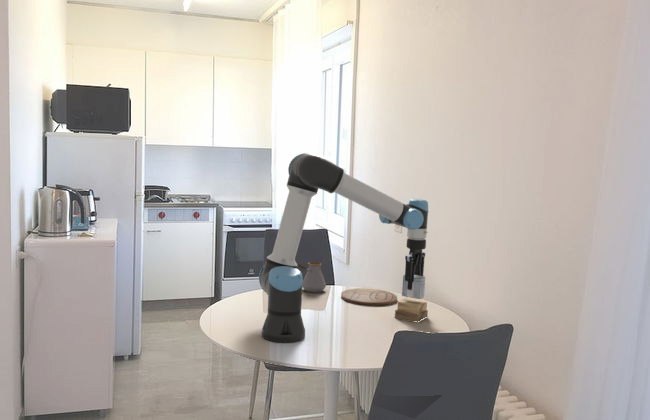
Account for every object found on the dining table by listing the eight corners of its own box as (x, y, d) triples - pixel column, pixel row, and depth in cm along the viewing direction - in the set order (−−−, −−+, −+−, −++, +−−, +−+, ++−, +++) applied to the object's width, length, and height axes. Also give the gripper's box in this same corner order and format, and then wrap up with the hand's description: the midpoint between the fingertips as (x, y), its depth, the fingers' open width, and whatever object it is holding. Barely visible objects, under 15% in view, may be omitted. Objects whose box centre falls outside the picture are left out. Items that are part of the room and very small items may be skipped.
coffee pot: (310, 286, 273) (311, 255, 271) (330, 290, 267) (332, 258, 265) (283, 294, 255) (285, 261, 253) (304, 299, 249) (306, 265, 247)
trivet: (338, 304, 244) (338, 300, 244) (343, 290, 269) (343, 286, 269) (397, 308, 241) (397, 304, 241) (396, 294, 266) (397, 290, 266)
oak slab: (417, 314, 222) (418, 305, 222) (397, 310, 227) (397, 301, 227) (426, 310, 229) (427, 301, 228) (406, 305, 234) (406, 297, 233)
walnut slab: (417, 323, 222) (418, 315, 221) (394, 318, 227) (395, 310, 227) (427, 318, 229) (427, 310, 229) (404, 313, 235) (405, 305, 234)
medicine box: (424, 297, 227) (425, 276, 226) (419, 299, 223) (421, 278, 222) (406, 294, 231) (407, 273, 230) (401, 296, 227) (402, 275, 226)
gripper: (415, 242, 215) (411, 302, 218) (434, 237, 230) (430, 293, 232) (397, 239, 219) (394, 298, 222) (417, 235, 234) (414, 290, 236)
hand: (413, 296), depth 227 cm, fingers closed on medicine box, 4 cm apart
